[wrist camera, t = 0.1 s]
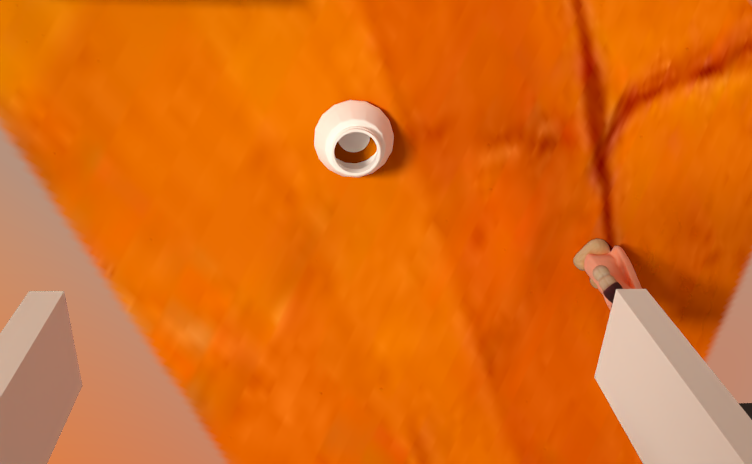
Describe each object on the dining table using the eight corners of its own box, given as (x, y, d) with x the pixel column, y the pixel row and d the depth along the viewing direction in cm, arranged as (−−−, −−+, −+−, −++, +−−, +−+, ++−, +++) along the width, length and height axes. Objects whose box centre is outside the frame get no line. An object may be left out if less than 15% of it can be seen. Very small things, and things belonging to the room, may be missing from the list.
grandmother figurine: (648, 269, 50) (745, 382, 39) (609, 304, 51) (692, 423, 40) (581, 211, 47) (664, 314, 36) (542, 249, 49) (610, 360, 37)
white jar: (304, 111, 43) (328, 181, 45) (303, 127, 40) (329, 200, 42) (380, 88, 42) (400, 159, 45) (384, 102, 40) (406, 177, 42)
